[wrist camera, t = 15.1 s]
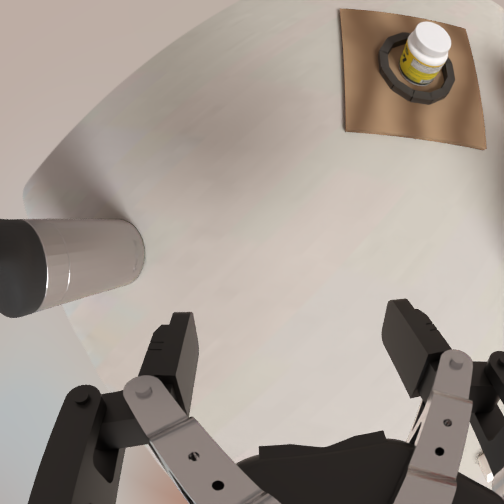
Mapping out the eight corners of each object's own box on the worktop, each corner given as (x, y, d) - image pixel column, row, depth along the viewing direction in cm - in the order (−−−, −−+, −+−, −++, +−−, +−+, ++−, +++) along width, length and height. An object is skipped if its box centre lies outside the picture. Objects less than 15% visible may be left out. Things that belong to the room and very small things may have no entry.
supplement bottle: (403, 48, 30) (417, 11, 22) (437, 65, 29) (458, 32, 21) (393, 75, 31) (407, 40, 22) (428, 93, 30) (450, 63, 22)
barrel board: (345, 131, 34) (346, 125, 31) (339, 12, 32) (339, 2, 29) (483, 150, 30) (491, 145, 27) (463, 32, 28) (468, 23, 25)
